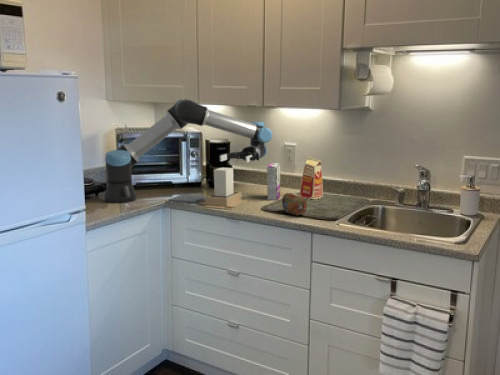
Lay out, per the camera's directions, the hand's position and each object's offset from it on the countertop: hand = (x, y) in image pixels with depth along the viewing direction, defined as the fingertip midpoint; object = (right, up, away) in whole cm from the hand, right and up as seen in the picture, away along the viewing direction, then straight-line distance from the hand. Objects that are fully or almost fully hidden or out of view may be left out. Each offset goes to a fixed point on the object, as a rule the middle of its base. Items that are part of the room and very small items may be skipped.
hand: (233, 159), depth 246 cm
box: (-4, -21, -5) cm, 22 cm away
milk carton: (+38, -19, +5) cm, 43 cm away
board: (-22, -19, +2) cm, 29 cm away
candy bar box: (+20, -19, +4) cm, 28 cm away
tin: (+27, -25, -27) cm, 45 cm away
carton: (-4, -21, -5) cm, 22 cm away
